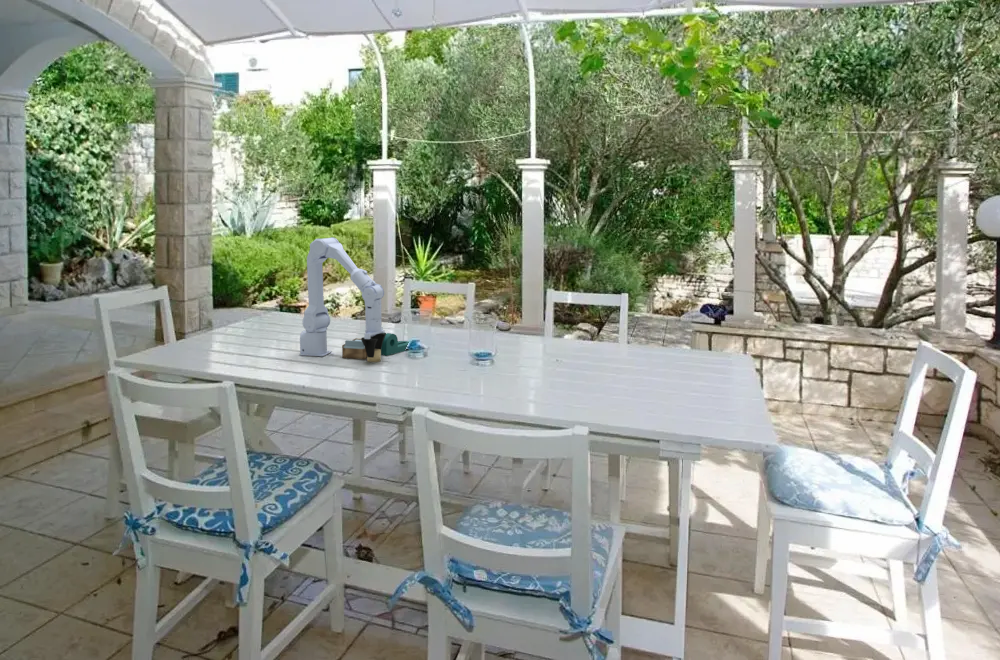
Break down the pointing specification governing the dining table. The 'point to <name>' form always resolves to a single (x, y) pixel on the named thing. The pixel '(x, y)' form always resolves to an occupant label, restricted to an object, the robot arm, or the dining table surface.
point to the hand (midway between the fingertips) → (374, 355)
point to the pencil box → (354, 352)
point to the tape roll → (375, 356)
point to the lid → (354, 344)
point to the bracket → (392, 345)
